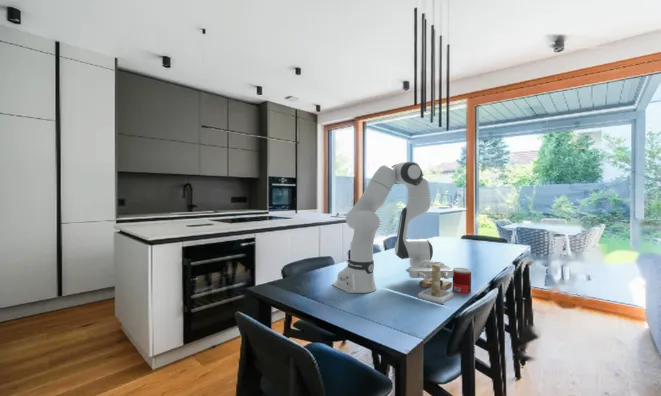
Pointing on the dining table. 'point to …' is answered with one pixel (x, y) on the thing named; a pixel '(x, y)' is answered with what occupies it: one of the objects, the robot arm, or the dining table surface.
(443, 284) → the socket block
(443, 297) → the tray
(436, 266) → the dowel
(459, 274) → the canned food
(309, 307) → the dining table surface
